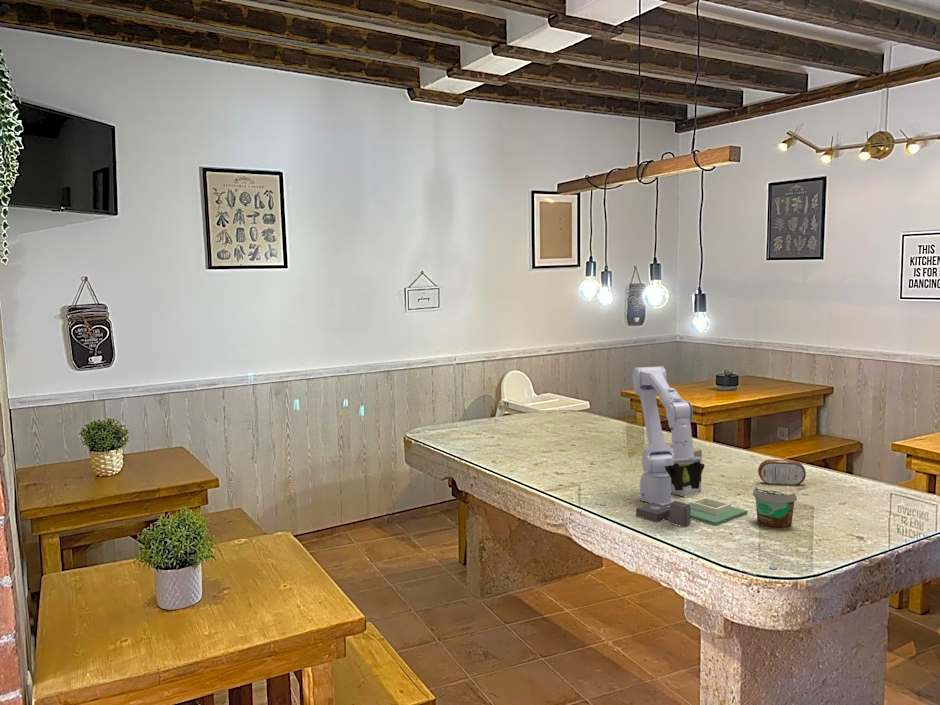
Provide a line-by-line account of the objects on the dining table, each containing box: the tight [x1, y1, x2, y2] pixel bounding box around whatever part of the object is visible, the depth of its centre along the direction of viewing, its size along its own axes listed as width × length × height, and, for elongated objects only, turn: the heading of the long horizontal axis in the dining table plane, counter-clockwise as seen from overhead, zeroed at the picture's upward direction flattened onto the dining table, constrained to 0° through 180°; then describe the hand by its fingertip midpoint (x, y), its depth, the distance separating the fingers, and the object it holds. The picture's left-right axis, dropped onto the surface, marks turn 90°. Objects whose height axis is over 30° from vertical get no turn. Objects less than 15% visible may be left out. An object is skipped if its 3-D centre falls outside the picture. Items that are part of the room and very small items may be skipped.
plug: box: [668, 500, 691, 528], centre depth 215 cm, size 6×3×6 cm, turn 37°
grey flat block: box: [635, 503, 669, 523], centre depth 222 cm, size 10×8×3 cm
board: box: [687, 496, 748, 527], centre depth 224 cm, size 16×16×3 cm
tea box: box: [664, 441, 703, 498], centre depth 248 cm, size 15×10×15 cm
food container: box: [752, 485, 798, 529], centre depth 212 cm, size 12×6×10 cm, turn 44°
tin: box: [757, 459, 807, 486], centre depth 251 cm, size 15×3×8 cm, turn 74°
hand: (687, 489), depth 214 cm, fingers open, 7 cm apart
